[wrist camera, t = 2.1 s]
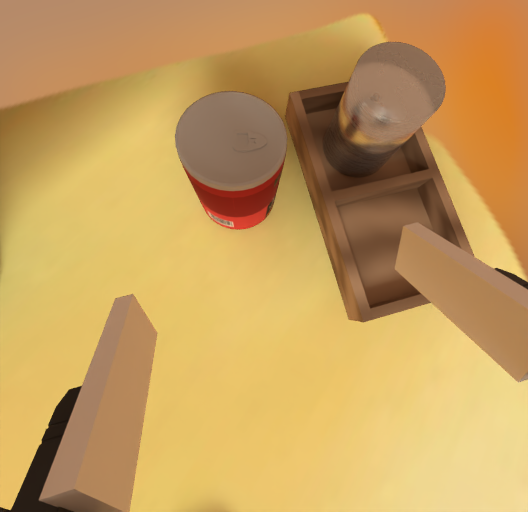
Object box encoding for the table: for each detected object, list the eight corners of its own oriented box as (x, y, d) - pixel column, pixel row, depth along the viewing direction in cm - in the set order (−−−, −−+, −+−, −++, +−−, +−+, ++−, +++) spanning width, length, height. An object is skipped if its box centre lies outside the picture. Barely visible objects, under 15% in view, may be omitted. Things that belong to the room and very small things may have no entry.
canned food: (281, 221, 28) (301, 172, 17) (212, 240, 27) (187, 199, 17) (263, 161, 29) (270, 79, 19) (195, 177, 29) (163, 101, 18)
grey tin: (310, 153, 29) (337, 87, 20) (344, 107, 30) (383, 26, 21) (366, 190, 28) (418, 139, 20) (398, 141, 30) (460, 74, 21)
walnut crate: (457, 288, 28) (486, 286, 24) (348, 319, 27) (363, 322, 23) (382, 97, 32) (398, 72, 29) (285, 116, 31) (289, 92, 27)
